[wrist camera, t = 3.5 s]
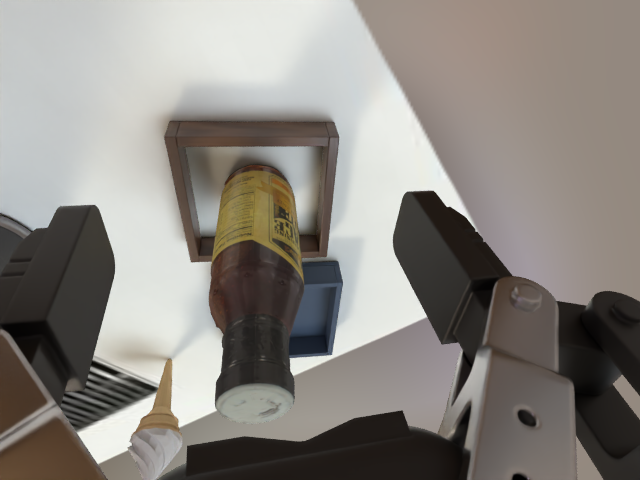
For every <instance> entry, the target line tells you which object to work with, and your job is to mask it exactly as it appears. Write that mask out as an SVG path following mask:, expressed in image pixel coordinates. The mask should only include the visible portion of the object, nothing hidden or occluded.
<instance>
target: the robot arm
mask: <svg viewBox="0 0 640 480" xmlns="http://www.w3.org/2000/svg"><path fill="white" fill-rule="evenodd" d="M393 247H394V252H395V255H396V257H397V259H398V261H399V263H400V265H401V267H402V269H403V270H404V272H405V274H406V276H407V278H408V280H409V282H410V284H411V286H412V288H413V290H414V292H415V294H416V296H417V298H418V299H419V301H420V303H421V305H422V307H423V309H424V311H425V313H426V315H427V317H428V319H429V321H430V322H431V324H432V326H433V328H434V330H435V332H436V334H437V336H438V338H439V340H440V342H441V344H450V343H457V342H459V344H460V346H461V348H462V351H461V352H460V354H459V357H458V361H457V365H456V369H455V374H454V378H453V382H452V386H451V390H450V394H449V398H448V403H447V407H446V411H445V415H444V418H443V421H442V424H441V426H440V429H439V431H438V434H436V433H433V432H430V431H428V430H425V429H421V428H416V427H412V426H408V424H407V421H406V419H405V416H404V414H403V411H396V412H390V413H384V414H378V415H372V416H366V417H360V418H354V419H352V420H349V421H347V422H345V423H343V424H341V425H339V426H337V427H335V428H332V429H330V430H328V431H326V432H324V433H322V434H320V435H318V436H315V437H313V438H311V439H309V440H306V441H302V442H297V441H296V442H295V441H286V440H276V439H265V438H255V437H239V438H233V439H226V440H220V441H214V442H208V443H202V444H196V445H190V446H187V463H185V464H183V465H181V466H179V467H177V468H175V469H173V470H172V471H170V472H168V473H166V474H165V475H163V476H162V477H160V478H159V479H158V480H577V455H576V436H577V438H578V439H579V441H580V442H581V444H582V446H583V447H584V449H585V450H586V452H587V454H588V455H589V457H590V458H591V460H592V462H593V463H594V465H595V466H596V468H597V470H598V471H599V473H600V474H601V476H602V478H603V479H604V480H640V420H639V418H638V417H637V416H636V414H635V413H634V412H633V410H632V409H631V408H630V407H629V405H628V404H627V403H626V401H625V400H624V399H623V398H622V396H621V395H620V394H619V392H618V391H617V390H616V388H615V387H614V386H613V383H614V382H615V381H616V380H617V379H618V378H619V377H620V376H621V375H622V374H623V376H624V377H625V378H626V379H627V381H628V382H629V383H630V384H631V386H632V387H633V388H634V389H635V391H636V392H637V393H638V394H639V396H640V302H639V301H637V300H635V299H634V298H632V297H629V296H627V295H624V294H621V293H617V292H612V291H603V292H599V293H597V294H595V295H594V297H593V298H592V299H591V301H590V302H589V304H588V305H587V306H585V305H578V304H573V303H566V302H560V301H556V300H555V298H554V297H553V296H552V294H551V293H549V291H548V290H546V289H545V288H544V287H542V286H540V285H539V284H538V283H536V282H534V281H531V280H529V279H526V278H522V277H516V276H512V274H511V273H510V272H509V271H508V270H507V268H506V267H505V266H504V265H503V263H502V262H501V261H500V260H499V258H498V257H497V256H496V255H495V253H494V252H493V251H492V250H491V248H490V247H489V246H488V245H487V243H486V242H483V238H482V237H481V236H480V235H479V233H478V232H475V228H474V227H473V226H472V225H471V223H470V222H469V221H468V220H467V218H466V217H464V216H463V215H462V214H460V213H459V212H457V211H456V210H454V209H453V208H451V207H446V206H445V204H444V203H443V202H442V200H441V199H440V198H439V197H438V195H437V194H436V193H435V192H434V191H414V192H406V193H405V194H404V196H403V199H402V203H401V207H400V211H399V215H398V219H397V223H396V227H395V231H394V235H393ZM114 274H115V260H114V254H113V251H112V248H111V245H110V241H109V238H108V235H107V232H106V229H105V226H104V223H103V220H102V217H101V214H100V211H99V209H98V208H97V206H95V205H81V206H60V207H59V208H58V209H57V210H56V212H55V214H54V216H53V218H52V220H51V222H50V224H49V226H48V228H38V229H35V230H34V231H33V232H30V231H29V230H28V229H26V228H25V227H23V226H22V225H20V224H18V223H17V222H15V221H13V220H10V219H8V218H6V217H3V216H1V215H0V480H108V479H107V478H106V476H105V475H104V473H103V472H102V470H101V469H100V467H99V466H98V464H97V463H96V461H95V460H94V458H93V457H92V455H91V454H90V452H89V451H88V449H87V448H86V446H85V445H84V443H83V442H82V440H81V439H80V437H79V436H78V434H77V433H76V431H75V430H74V428H73V427H72V425H71V424H70V422H69V421H68V419H67V418H66V417H65V415H64V414H63V412H62V411H61V409H60V405H61V402H62V399H63V396H64V393H65V392H73V391H80V390H84V389H85V385H86V382H87V378H88V374H89V370H90V366H91V363H92V359H93V355H94V351H95V347H96V344H97V340H98V336H99V332H100V328H101V325H102V321H103V317H104V313H105V309H106V306H107V302H108V298H109V294H110V290H111V287H112V283H113V279H114Z"/></svg>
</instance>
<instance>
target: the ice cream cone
mask: <svg viewBox="0 0 640 480" xmlns="http://www.w3.org/2000/svg"><path fill="white" fill-rule="evenodd" d="M171 386H172V360H171V359H169V360H167V362H166V364H165V368H164V372H163V375H162V378H161V381H160V385H159V388H158V391H157V394H156V398H155V402H154V405H153V409H152V410H151V412H150V413H149V414H148V415H146V416H145V417H143V418H142V419H141V421H140V424H139V426H138V428H137V429H136V431H135V432H134V433H133V434H132V436H131V439H130V441H129V442H131V443H132V446H130V447H128V450H129V452H130V453H131V456H132V457H133V458H134V459H135V460H136V466H137V468H138V470H139V472H140V474H141V476H142V478H143V480H156V479H157V477H158V476H159V475H160V473H161V472H162V471H163V470H164V468H165V467H166V466H167V465H168V464H169V463H170V462H171V460H172V459H173V458H174V456H175V455H176V454H177V453H178V451H179V450H180V448H181V446H182V434H181V433H180V432H179V427H178V419H177V418H176V417H175V416H174V415H173V413H172V412H171Z"/></svg>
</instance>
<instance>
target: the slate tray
mask: <svg viewBox="0 0 640 480" xmlns="http://www.w3.org/2000/svg"><path fill="white" fill-rule="evenodd" d="M302 269H303V278H304V294H303V297H302V300H301V303H300V306H299V309H298V312H297V315H296V319H295V322H294V325H293V328H292V331H291V334H290V337H289V358H297V357H311V356H325V355H332V351H333V344H334V338H335V331H336V325H337V318H338V312H339V305H340V298H341V292H342V285H343V281H342V276H341V272H340V267H339V263H338V261H333V262H309V263H302Z"/></svg>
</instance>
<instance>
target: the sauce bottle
mask: <svg viewBox="0 0 640 480" xmlns="http://www.w3.org/2000/svg"><path fill="white" fill-rule="evenodd" d="M303 294H304V278H303V269H302V261H301V249H300V241H299V231H298V224H297V215H296V207H295V198H294V194H293V191H292V188H291V186H290V184H289V183H288V181H287V179H286V178H285V177H284V175H282V174H281V173H280V172H279V171H278V170H276V169H274V168H272V167H268V166H262V165H249V166H246V167H243V168H241V169H239V170H237V171H236V172H234V173H233V174H232V175H231V176H229V178H228V179H227V180H226V182H225V187H224V189H223V192H222V195H221V201H220V208H219V215H218V222H217V229H216V236H215V243H214V250H213V257H212V264H211V285H210V291H209V306H210V310H211V315H212V317H213V319H214V321H215V323H216V326H217V327H218V328H220V329H221V331H222V333H223V334H224V336H223V338H222V347H223V356H222V368H221V374H220V376H219V378H218V380H217V382H216V393H215V407H216V409H217V411H218V412H219V413H220V414H221V416H222V417H224V418H226V419H228V420H231V421H234V422H242V423H249V424H254V423H262V422H268V421H271V420H274V419H276V418H279V417H281V416H282V415H284V414H285V413H286V412H288V411H289V409H290V408H291V407H292V405H293V404H294V398H295V396H294V378H293V375H292V373H291V372H290V359H289V337H290V334H291V331H292V328H293V325H294V322H295V319H296V315H297V312H298V309H299V306H300V303H301V300H302V297H303Z"/></svg>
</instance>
